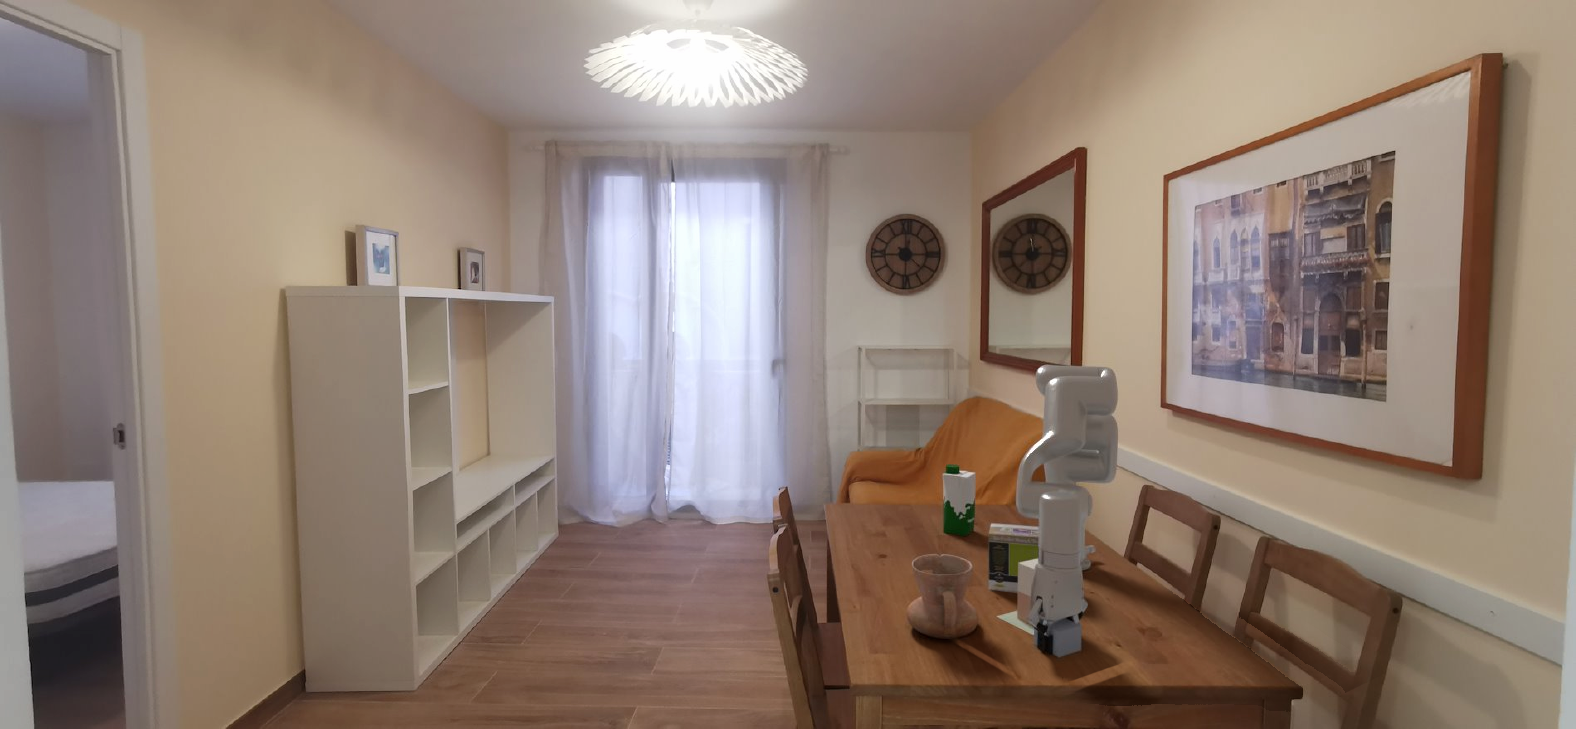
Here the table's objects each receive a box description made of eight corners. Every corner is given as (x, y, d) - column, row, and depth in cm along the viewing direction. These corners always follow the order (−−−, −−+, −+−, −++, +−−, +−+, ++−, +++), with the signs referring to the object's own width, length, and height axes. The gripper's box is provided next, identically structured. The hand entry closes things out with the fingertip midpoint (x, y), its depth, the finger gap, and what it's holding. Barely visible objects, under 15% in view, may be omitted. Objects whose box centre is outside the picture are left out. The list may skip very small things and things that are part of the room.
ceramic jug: (903, 611, 155) (903, 548, 154) (970, 613, 154) (970, 549, 153) (910, 651, 137) (910, 580, 136) (986, 653, 136) (986, 581, 135)
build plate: (1036, 610, 155) (1036, 605, 155) (1082, 631, 145) (1082, 625, 145) (996, 621, 150) (996, 616, 150) (1040, 644, 139) (1040, 638, 139)
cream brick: (1037, 585, 151) (1038, 558, 151) (1060, 595, 146) (1061, 566, 145) (1017, 590, 148) (1018, 562, 148) (1040, 600, 143) (1040, 571, 142)
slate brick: (1055, 643, 140) (1056, 613, 139) (1080, 656, 134) (1081, 625, 134) (1033, 650, 137) (1034, 620, 136) (1058, 663, 132) (1059, 632, 131)
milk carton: (949, 525, 220) (950, 462, 219) (978, 530, 215) (978, 465, 214) (939, 532, 213) (939, 467, 211) (968, 537, 208) (969, 470, 206)
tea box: (1054, 587, 169) (1055, 526, 168) (1056, 602, 160) (1057, 538, 159) (989, 579, 174) (990, 520, 173) (987, 594, 165) (988, 532, 164)
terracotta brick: (1037, 613, 151) (1037, 585, 151) (1060, 623, 146) (1060, 595, 146) (1017, 618, 148) (1017, 590, 148) (1039, 629, 143) (1040, 600, 143)
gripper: (1073, 545, 142) (1072, 632, 143) (1011, 559, 134) (1009, 651, 135) (1106, 556, 135) (1104, 647, 136) (1042, 571, 127) (1040, 668, 128)
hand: (1057, 648), depth 136 cm, fingers closed on slate brick, 6 cm apart
